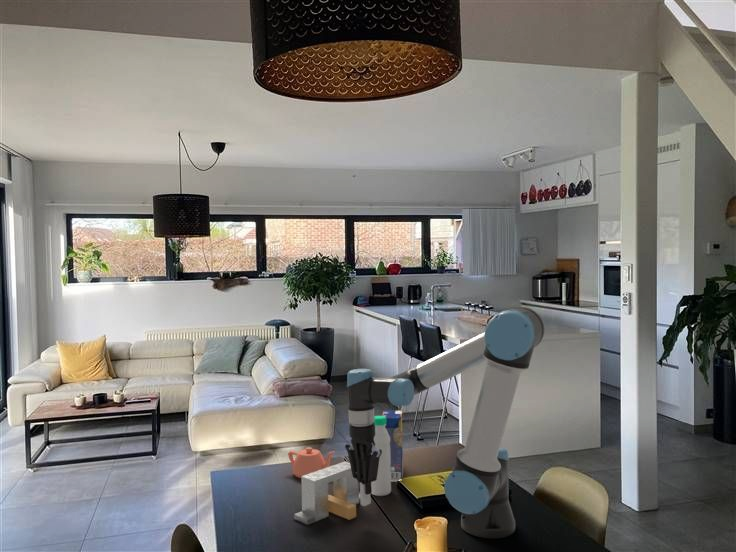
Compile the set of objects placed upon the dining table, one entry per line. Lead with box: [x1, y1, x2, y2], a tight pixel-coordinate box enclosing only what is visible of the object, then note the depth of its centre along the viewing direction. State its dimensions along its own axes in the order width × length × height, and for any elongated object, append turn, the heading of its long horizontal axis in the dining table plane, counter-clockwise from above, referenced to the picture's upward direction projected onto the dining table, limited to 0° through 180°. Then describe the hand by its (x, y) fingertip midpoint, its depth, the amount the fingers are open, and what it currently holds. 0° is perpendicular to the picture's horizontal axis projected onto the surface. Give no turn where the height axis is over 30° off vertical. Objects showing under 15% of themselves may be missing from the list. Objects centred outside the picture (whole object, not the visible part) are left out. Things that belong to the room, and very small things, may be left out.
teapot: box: [287, 446, 336, 479], centre depth 215 cm, size 12×18×10 cm
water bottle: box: [370, 415, 392, 497], centre depth 197 cm, size 7×7×25 cm
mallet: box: [328, 493, 357, 520], centre depth 185 cm, size 20×5×8 cm, turn 46°
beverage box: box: [381, 409, 404, 483], centre depth 212 cm, size 7×11×22 cm, turn 175°
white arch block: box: [293, 461, 361, 526], centre depth 184 cm, size 6×24×12 cm, turn 136°
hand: (365, 504), depth 174 cm, fingers closed
